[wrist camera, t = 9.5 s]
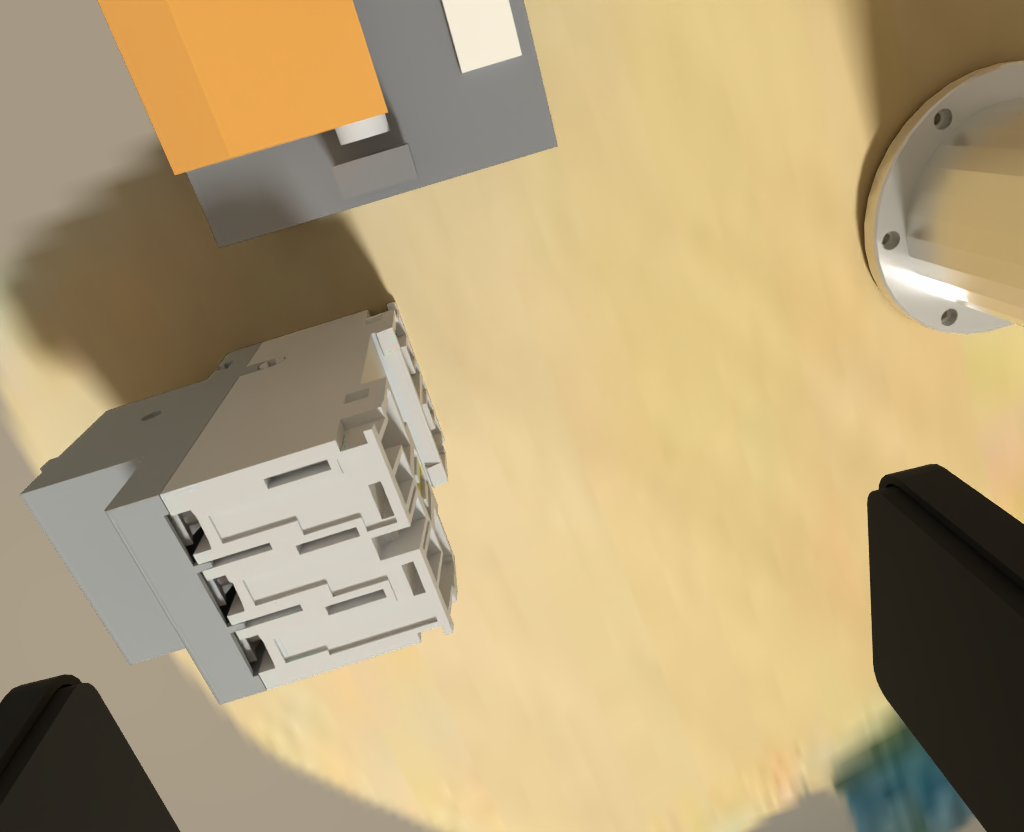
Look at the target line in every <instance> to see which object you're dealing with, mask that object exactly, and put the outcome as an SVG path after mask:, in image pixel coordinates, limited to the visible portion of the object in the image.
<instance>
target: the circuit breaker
mask: <svg viewBox="0 0 1024 832" xmlns="http://www.w3.org/2000/svg"><path fill="white" fill-rule="evenodd" d="M386 306H387V309H388V311H387V312H383V313H380V314H377V315H374V316H370V314H369V311H368V310H365V311H361V312H358V313H355V314H352V315H349V316H345V317H342V318H339V319H336V320H332V321H329V322H326V323H323V324H320V325H316V326H313V327H310V328H307V329H303V330H300V331H297V332H294V333H291V334H287V335H284V336H281V337H278V338H274V339H271V340H268V341H265V342H262V343H258V344H255V345H252V346H249V347H245V348H242V349H239V350H236V351H233V352H230V353H228V354H227V355H226V356H225V358H224V359H223V360H222V361H221V363H220V364H219V365H218V367H219V369H220V370H215V371H214V372H213V373H212V374H211V375H210V377H209V378H208V379H206V380H203V381H200V382H197V383H194V384H191V385H187V386H184V387H181V388H178V389H175V390H171V391H168V392H165V393H162V394H159V395H155V396H152V397H149V398H146V399H143V400H139V401H136V402H133V403H130V404H126V405H123V406H120V407H117V408H114V409H110V410H108V411H106V412H105V413H104V414H103V415H102V416H101V417H100V418H99V419H98V420H97V421H95V422H94V423H93V424H92V425H91V426H90V427H89V428H88V429H87V430H86V431H85V432H84V433H83V434H82V435H81V436H80V437H79V438H78V439H77V440H76V441H75V442H74V443H73V444H72V445H70V446H69V447H68V448H67V449H66V450H65V451H64V452H63V453H62V454H61V455H60V456H59V457H57V458H54V459H51V460H49V461H48V462H47V463H46V464H45V465H44V466H42V467H41V468H40V470H41V471H42V473H41V474H40V475H39V476H38V477H37V478H36V479H35V480H34V481H33V482H32V483H31V484H30V485H29V486H28V487H27V488H26V489H25V490H24V491H23V492H22V493H21V494H20V496H21V497H22V499H23V500H24V502H25V503H26V505H27V506H28V508H29V510H30V511H31V513H32V514H33V516H34V517H35V519H36V521H37V522H38V524H39V525H40V527H41V528H42V530H43V531H44V533H45V534H46V536H47V537H48V539H49V540H50V542H51V544H52V545H53V547H54V548H55V550H56V552H57V553H58V555H59V556H60V558H61V559H62V561H63V562H64V564H65V565H66V567H67V568H68V570H69V572H70V573H71V575H72V576H73V578H74V579H75V581H76V582H77V584H78V586H79V587H80V589H81V590H82V592H83V593H84V595H85V596H86V598H87V599H88V601H89V603H90V604H91V606H92V607H93V609H94V610H95V612H96V613H97V615H98V617H99V618H100V619H101V621H102V623H103V624H104V626H105V627H106V629H107V631H108V632H109V634H110V635H111V637H112V638H113V640H114V641H115V643H116V645H117V646H118V648H119V649H120V651H121V652H122V654H123V655H124V657H125V658H126V660H127V662H128V663H129V664H130V665H132V664H136V663H139V662H142V661H145V660H148V659H152V658H155V657H158V656H161V655H165V654H168V653H171V652H175V651H178V650H181V649H184V648H186V649H187V651H188V653H189V654H190V656H191V658H192V659H193V661H194V663H195V665H196V666H197V668H198V670H199V671H200V673H201V675H202V676H203V678H204V680H205V681H206V683H207V685H208V686H209V688H210V690H211V691H212V693H213V695H214V696H215V698H216V700H217V702H218V703H219V704H220V705H221V704H224V703H227V702H231V701H234V700H237V699H240V698H244V697H247V696H250V695H253V694H257V693H260V692H263V691H266V690H270V689H273V688H276V687H279V686H282V685H286V684H289V683H292V682H295V681H299V680H302V679H305V678H308V677H311V676H315V675H318V674H321V673H324V672H327V671H331V670H334V669H337V668H340V667H344V666H347V665H350V664H353V663H356V662H360V661H363V660H366V659H369V658H372V657H376V656H379V655H382V654H385V653H389V652H392V651H395V650H398V649H401V648H405V647H408V646H411V645H414V644H418V643H421V632H423V631H426V630H429V629H433V628H436V627H439V626H442V628H443V630H444V633H445V635H446V634H450V633H453V626H454V624H453V621H452V619H451V616H450V612H451V604H452V602H456V600H457V580H456V568H455V557H454V554H453V552H452V549H451V546H450V544H449V541H448V538H447V536H446V533H445V531H444V528H443V525H442V523H441V520H440V517H439V515H438V506H437V502H436V499H435V497H434V494H433V491H432V489H431V486H433V487H434V488H435V487H437V486H439V485H441V484H443V483H445V482H448V474H447V462H446V452H445V449H444V447H443V443H445V439H444V437H443V434H442V431H441V428H440V425H439V423H438V420H437V417H436V414H435V411H434V409H433V406H432V403H431V400H430V397H429V395H428V392H427V389H426V386H425V383H424V381H423V378H422V375H421V372H420V369H419V366H418V364H417V361H416V358H415V355H414V352H413V350H412V347H411V344H410V341H409V338H408V336H407V333H406V330H405V327H404V324H403V322H402V319H401V316H400V313H399V310H398V308H397V305H396V302H395V301H394V302H390V303H387V304H386ZM395 331H396V333H397V334H396V333H395Z"/></svg>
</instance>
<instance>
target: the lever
mask: <svg viewBox="0 0 1024 832" xmlns="http://www.w3.org/2000/svg"><path fill="white" fill-rule="evenodd" d="M98 3H99V5H100V7H101V9H102V12H103V14H104V16H105V19H106V21H107V23H108V25H109V27H110V30H111V32H112V34H113V37H114V39H115V41H116V43H117V46H118V48H119V50H120V52H121V55H122V57H123V59H124V62H125V64H126V66H127V68H128V71H129V73H130V75H131V77H132V79H133V82H134V84H135V86H136V88H137V91H138V93H139V95H140V98H141V100H142V102H143V104H144V107H145V109H146V111H147V114H148V116H149V118H150V120H151V123H152V125H153V127H154V129H155V132H156V134H157V136H158V138H159V141H160V143H161V145H162V147H163V150H164V152H165V154H166V157H167V159H168V161H169V163H170V166H171V168H172V170H173V172H174V175H178V174H181V173H184V172H188V171H191V170H195V169H198V168H202V167H205V166H209V165H212V164H216V163H219V162H223V161H226V160H229V159H233V158H236V157H240V156H243V155H247V154H250V153H254V152H257V151H261V150H264V149H268V148H271V147H274V146H278V145H281V144H285V143H288V142H292V141H295V140H299V139H302V138H306V137H309V136H313V135H316V134H319V133H323V132H326V131H330V130H333V129H335V130H336V133H337V136H338V139H339V142H340V145H344V144H348V143H351V142H355V141H358V140H361V139H365V138H368V137H371V136H375V135H378V134H381V133H384V132H387V131H390V128H389V125H388V122H387V119H386V115H385V113H388V110H387V107H386V104H385V101H384V97H383V94H382V91H381V88H380V85H379V82H378V79H377V75H376V72H375V69H374V66H373V63H372V60H371V56H370V53H369V50H368V47H367V44H366V41H365V38H364V34H363V31H362V28H361V25H360V22H359V19H358V16H357V12H356V9H355V6H354V3H353V0H98Z"/></svg>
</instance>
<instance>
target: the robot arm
mask: <svg viewBox="0 0 1024 832" xmlns="http://www.w3.org/2000/svg"><path fill="white" fill-rule="evenodd" d="M864 232H865V250H866V255H867V259H868V264H869V268H870V271H871V274H872V276H873V278H874V280H875V282H876V284H877V286H878V288H879V290H880V292H881V293H882V294H883V295H884V297H885V298H886V299H887V300H888V302H889V303H890V304H891V305H892V306H893V307H894V308H895V309H896V310H898V311H899V312H900V313H902V314H903V315H904V316H906V317H907V318H908V319H911V320H913V321H915V322H917V323H919V324H921V325H923V326H926V327H928V328H931V329H934V330H937V331H940V332H944V333H951V334H964V335H970V334H978V333H987V332H992V331H995V330H998V329H1002V328H1005V327H1008V326H1011V325H1014V324H1017V325H1020V326H1023V327H1024V60H1022V61H1014V62H1005V63H998V64H995V65H992V66H988V67H985V68H982V69H978V70H975V71H973V72H971V73H969V74H967V75H965V76H963V77H961V78H959V79H957V80H956V81H954V82H952V83H950V84H948V85H947V86H946V87H944V88H943V89H942V90H940V91H939V92H938V93H937V94H935V95H934V96H933V97H931V98H930V99H929V100H927V101H926V102H925V103H924V104H923V105H922V106H921V107H920V108H919V109H918V110H917V111H916V113H915V114H914V115H913V116H912V117H911V118H910V119H909V120H908V121H907V122H906V123H905V125H904V126H903V127H902V129H901V130H900V132H899V133H898V135H897V136H896V137H895V139H894V140H893V142H892V143H891V144H890V146H889V148H888V150H887V152H886V154H885V156H884V158H883V160H882V162H881V164H880V166H879V168H878V170H877V172H876V175H875V178H874V181H873V184H872V187H871V190H870V193H869V197H868V202H867V209H866V215H865V222H864ZM883 237H884V239H883ZM867 510H868V537H869V564H870V591H871V618H872V645H873V666H874V672H875V676H876V679H877V682H878V684H879V687H880V689H881V691H882V693H883V694H884V696H885V697H886V699H887V700H888V702H889V703H890V704H891V706H892V707H893V708H894V710H895V711H896V712H897V714H898V715H899V716H900V718H901V719H902V720H903V722H904V723H905V724H906V726H907V727H908V728H909V730H910V731H911V732H912V734H913V735H914V736H915V737H916V739H917V740H918V741H919V743H920V744H921V745H922V747H923V748H924V749H925V751H926V752H927V753H928V755H929V756H930V757H931V759H932V760H933V761H934V763H935V764H936V765H937V767H938V768H939V769H940V771H941V772H942V773H943V774H944V776H945V777H946V778H947V780H948V781H949V782H950V784H951V785H952V786H953V788H954V789H955V790H956V792H957V793H958V794H959V796H960V797H961V798H962V800H963V801H964V802H965V804H966V805H967V806H968V808H969V809H970V810H971V811H972V813H973V814H974V815H975V817H976V818H977V819H978V821H979V822H980V823H981V825H982V826H983V827H984V828H985V830H986V831H987V832H1024V524H1023V523H1021V522H1020V521H1018V520H1017V519H1016V518H1014V517H1013V516H1011V515H1010V514H1009V513H1007V512H1006V511H1004V510H1003V509H1002V508H1000V507H999V506H997V505H996V504H994V503H993V502H992V501H990V500H989V499H987V498H986V497H985V496H983V495H982V494H980V493H979V492H978V491H976V490H975V489H973V488H972V487H971V486H969V485H968V484H966V483H965V482H963V481H962V480H961V479H959V478H958V477H956V476H955V475H954V474H952V473H951V472H949V471H948V470H947V469H945V468H944V467H942V466H940V465H938V464H929V465H925V466H921V467H917V468H913V469H908V470H904V471H900V472H896V473H892V474H888V475H885V476H884V477H883V478H882V479H881V481H880V484H879V490H875V491H872V492H871V493H870V494H869V496H868V501H867ZM0 832H180V830H179V829H178V827H177V825H176V823H175V822H174V820H173V818H172V817H171V815H170V813H169V812H168V810H167V808H166V807H165V805H164V803H163V801H162V800H161V798H160V796H159V795H158V793H157V791H156V790H155V788H154V786H153V784H152V783H151V781H150V780H149V778H148V776H147V774H146V773H145V771H144V769H143V767H142V766H141V764H140V763H139V761H138V759H137V757H136V756H135V754H134V752H133V751H132V749H131V747H130V745H129V744H128V742H127V740H126V739H125V737H124V735H123V733H122V732H121V730H120V728H119V727H118V725H117V723H116V722H115V720H114V718H113V717H112V715H111V713H110V711H109V710H108V708H107V706H106V705H105V703H104V701H103V700H102V698H101V696H100V694H99V693H98V691H97V690H96V689H95V687H94V686H92V685H91V684H89V683H82V682H81V681H80V680H79V679H78V678H76V677H75V676H73V675H61V676H57V677H53V678H49V679H45V680H40V681H36V682H32V683H28V684H24V685H20V686H18V687H15V688H13V689H12V690H11V691H10V692H9V693H8V694H7V695H6V696H5V697H4V699H3V700H2V701H1V703H0Z"/></svg>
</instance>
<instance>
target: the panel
mask: <svg viewBox="0 0 1024 832" xmlns="http://www.w3.org/2000/svg"><path fill="white" fill-rule="evenodd" d="M353 3H354V6H355V9H356V12H357V16H358V19H359V22H360V25H361V28H362V31H363V34H364V38H365V41H366V44H367V47H368V50H369V53H370V56H371V60H372V63H373V66H374V69H375V72H376V75H377V79H378V82H379V85H380V88H381V91H382V94H383V97H384V101H385V104H386V107H387V110H388V113H385V115H386V119H387V122H388V125H389V128H390V131H387V132H384V133H381V134H378V135H375V136H371V137H368V138H365V139H361V140H358V141H355V142H351V143H348V144H344V145H340V142H339V139H338V136H337V133H336V130H335V129H333V130H330V131H326V132H323V133H319V134H316V135H313V136H309V137H306V138H302V139H299V140H295V141H292V142H288V143H285V144H281V145H278V146H274V147H271V148H268V149H264V150H261V151H257V152H254V153H250V154H247V155H243V156H240V157H236V158H233V159H229V160H226V161H223V162H219V163H216V164H212V165H209V166H205V167H202V168H198V169H195V170H191V171H188V172H186V173H187V176H188V178H189V180H190V182H191V185H192V187H193V189H194V192H195V194H196V196H197V199H198V201H199V203H200V205H201V208H202V210H203V212H204V215H205V217H206V219H207V222H208V224H209V226H210V228H211V231H212V233H213V235H214V238H215V240H216V242H217V244H218V247H219V248H222V247H225V246H228V245H232V244H235V243H238V242H242V241H245V240H248V239H252V238H255V237H258V236H262V235H265V234H268V233H272V232H275V231H278V230H281V229H285V228H288V227H291V226H295V225H298V224H301V223H305V222H308V221H311V220H315V219H318V218H321V217H325V216H328V215H331V214H335V213H338V212H341V211H344V210H348V209H351V208H354V207H358V206H361V205H364V204H368V203H371V202H374V201H378V200H381V199H384V198H388V197H391V196H394V195H398V194H401V193H404V192H408V191H411V190H414V189H417V188H421V187H424V186H427V185H431V184H434V183H437V182H441V181H444V180H447V179H451V178H454V177H457V176H461V175H464V174H467V173H471V172H474V171H477V170H480V169H484V168H487V167H490V166H494V165H497V164H500V163H504V162H507V161H510V160H514V159H517V158H520V157H524V156H527V155H530V154H534V153H537V152H540V151H543V150H547V149H550V148H553V147H557V146H558V145H557V141H556V136H555V132H554V128H553V123H552V119H551V115H550V111H549V106H548V102H547V98H546V94H545V89H544V85H543V81H542V77H541V72H540V68H539V64H538V59H537V55H536V51H535V47H534V42H533V38H532V34H531V30H530V25H529V21H528V17H527V13H526V8H525V4H524V0H353Z"/></svg>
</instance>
